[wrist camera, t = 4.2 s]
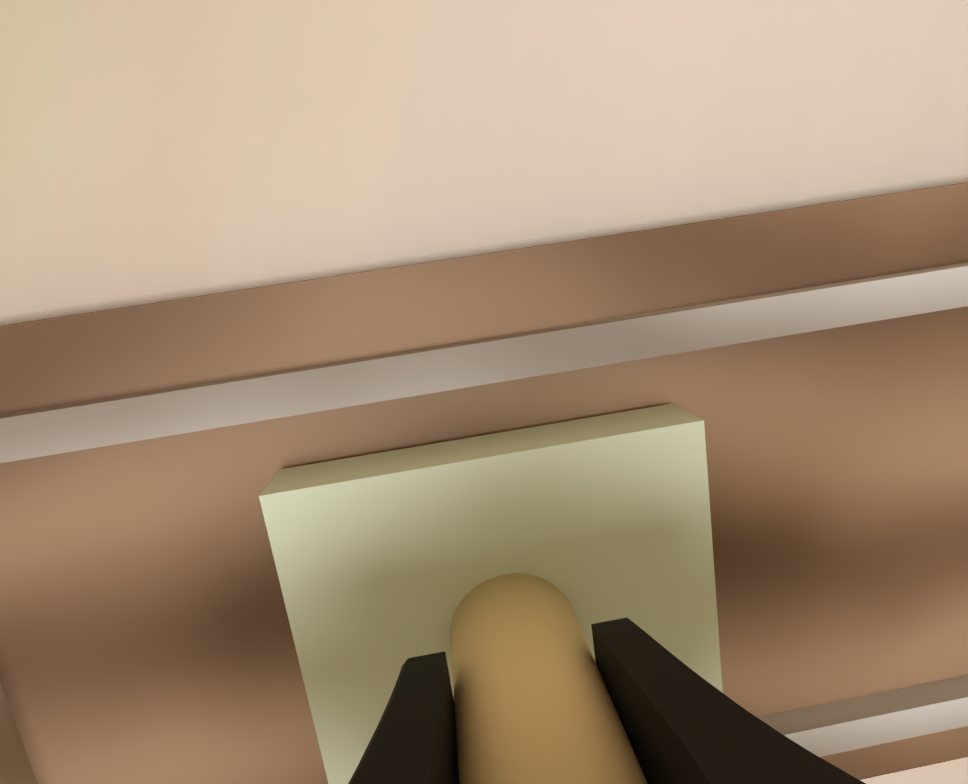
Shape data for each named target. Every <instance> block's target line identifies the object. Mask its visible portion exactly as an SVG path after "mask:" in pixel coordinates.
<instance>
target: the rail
mask: <svg viewBox="0 0 968 784" xmlns="http://www.w3.org/2000/svg"><path fill="white" fill-rule="evenodd" d="M667 404H674V405H676V406H678V407H680V408H682V409H684V410H686V411H687V412H689V413H691V414H693V415H695V416H697V417H699V418H701V419H703V420H704V426H705V441H706V455H707V470H708V485H709V499H710V514H711V528H712V543H713V558H714V572H715V587H716V601H717V616H718V631H719V645H720V660H721V675H722V689H723V694H725V695H726V696H727V697H729V698H730V699H731V700H733V701H734V702H736V703H737V704H738V705H740V706H741V707H743V708H744V709H745V710H747V711H748V712H750V713H751V714H753V715H754V716H756V717H757V718H759V719H760V720H762V721H763V722H765V723H766V724H768V725H769V726H771V727H772V728H774V729H775V730H777V731H778V732H780V733H781V734H783V735H784V736H786V737H787V738H789V739H790V740H792V741H794V742H795V743H797V744H799V745H800V746H802V747H803V748H805V749H807V750H808V751H810V752H811V753H813V754H815V755H817V756H818V757H820V758H822V759H824V760H825V761H827V762H829V763H831V764H832V765H834V766H836V767H838V768H839V769H841V770H843V771H844V772H846V773H848V774H850V775H851V776H853V777H855V778H857V779H858V780H861V779H866V778H870V777H875V776H880V775H884V774H889V773H894V772H899V771H903V770H908V769H913V768H917V767H922V766H927V765H931V764H936V763H941V762H945V761H950V760H955V759H959V758H964V757H968V182H967V183H961V184H954V185H947V186H940V187H934V188H927V189H920V190H913V191H907V192H900V193H893V194H886V195H880V196H873V197H866V198H859V199H853V200H846V201H839V202H832V203H826V204H819V205H812V206H805V207H799V208H792V209H785V210H778V211H772V212H765V213H758V214H751V215H745V216H738V217H731V218H724V219H718V220H711V221H704V222H697V223H691V224H684V225H677V226H670V227H664V228H657V229H650V230H643V231H637V232H630V233H623V234H616V235H610V236H603V237H596V238H589V239H583V240H576V241H569V242H562V243H556V244H549V245H542V246H535V247H529V248H522V249H515V250H508V251H502V252H495V253H488V254H482V255H475V256H468V257H461V258H455V259H448V260H441V261H434V262H428V263H421V264H414V265H407V266H401V267H394V268H387V269H380V270H374V271H367V272H360V273H353V274H347V275H340V276H333V277H326V278H320V279H313V280H306V281H299V282H293V283H286V284H279V285H272V286H266V287H259V288H252V289H245V290H239V291H232V292H225V293H218V294H212V295H205V296H198V297H191V298H185V299H178V300H171V301H164V302H158V303H151V304H144V305H137V306H131V307H124V308H117V309H110V310H104V311H97V312H90V313H83V314H77V315H70V316H63V317H56V318H50V319H43V320H36V321H30V322H23V323H16V324H9V325H3V326H0V784H328V780H327V776H326V772H325V768H324V763H323V759H322V755H321V751H320V747H319V743H318V739H317V735H316V730H315V726H314V722H313V718H312V714H311V710H310V706H309V702H308V697H307V693H306V689H305V685H304V681H303V677H302V673H301V668H300V664H299V660H298V656H297V652H296V648H295V644H294V640H293V635H292V631H291V627H290V623H289V619H288V615H287V611H286V607H285V602H284V598H283V594H282V590H281V586H280V582H279V578H278V574H277V569H276V565H275V561H274V557H273V553H272V549H271V545H270V541H269V536H268V532H267V528H266V524H265V520H264V516H263V512H262V508H261V503H260V499H259V495H260V494H261V493H262V491H263V490H264V489H265V487H266V486H267V485H268V483H269V482H270V481H271V479H272V478H273V477H274V475H275V474H276V473H277V471H278V470H280V469H286V468H291V467H297V466H303V465H309V464H315V463H321V462H327V461H333V460H339V459H345V458H351V457H357V456H363V455H369V454H375V453H381V452H387V451H393V450H399V449H405V448H411V447H417V446H423V445H429V444H435V443H440V442H446V441H452V440H458V439H464V438H470V437H476V436H482V435H488V434H494V433H500V432H506V431H512V430H518V429H524V428H530V427H536V426H542V425H548V424H554V423H560V422H566V421H572V420H578V419H584V418H589V417H595V416H601V415H607V414H613V413H619V412H625V411H631V410H637V409H643V408H649V407H655V406H661V405H667Z"/></svg>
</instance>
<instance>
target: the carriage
mask: <svg viewBox="0 0 968 784" xmlns="http://www.w3.org/2000/svg"><path fill="white" fill-rule="evenodd" d="M259 499H260V503H261V508H262V512H263V516H264V520H265V524H266V528H267V532H268V536H269V541H270V545H271V549H272V553H273V557H274V561H275V565H276V569H277V574H278V578H279V582H280V586H281V590H282V594H283V598H284V602H285V607H286V611H287V615H288V619H289V623H290V627H291V631H292V635H293V640H294V644H295V648H296V652H297V656H298V660H299V664H300V668H301V673H302V677H303V681H304V685H305V689H306V693H307V697H308V702H309V706H310V710H311V714H312V718H313V722H314V726H315V730H316V735H317V739H318V743H319V747H320V751H321V755H322V759H323V763H324V768H325V772H326V776H327V780H328V784H348V783H349V781H350V779H351V778H352V776H353V774H354V772H355V770H356V768H357V766H358V764H359V762H360V760H361V758H362V756H363V754H364V752H365V750H366V748H367V746H368V744H369V742H370V740H371V738H372V736H373V734H374V732H375V730H376V728H377V726H378V724H379V721H380V719H381V717H382V715H383V712H384V710H385V708H386V706H387V704H388V701H389V699H390V696H391V694H392V692H393V689H394V687H395V684H396V682H397V679H398V676H399V674H400V671H401V668H402V665H403V664H404V663H405V662H406V660H407V659H408V658H412V657H417V656H423V655H428V654H433V653H439V652H444V651H445V653H446V659H447V665H448V670H449V676H450V682H451V687H452V693H453V699H454V711H455V727H456V743H457V759H458V775H459V784H648V783H647V781H646V778H645V776H644V774H643V771H642V769H641V767H640V764H639V762H638V760H637V757H636V755H635V753H634V750H633V748H632V746H631V743H630V741H629V739H628V736H627V734H626V732H625V730H624V727H623V725H622V723H621V720H620V718H619V716H618V713H617V711H616V709H615V706H614V704H613V702H612V699H611V697H610V695H609V692H608V690H607V688H606V686H605V683H604V681H603V679H602V676H601V674H600V672H599V669H598V667H597V665H596V662H595V653H594V644H593V636H592V627H591V624H595V623H600V622H605V621H611V620H616V619H621V618H628V619H630V620H631V621H632V622H634V623H635V624H636V625H637V626H639V627H640V628H641V629H642V630H644V631H645V632H646V633H647V634H648V635H650V636H651V637H652V638H653V639H654V640H656V641H657V642H658V643H659V644H661V645H662V646H663V647H664V648H665V649H667V650H668V651H669V652H670V653H672V654H673V655H674V656H675V657H677V658H678V659H679V660H680V661H682V662H683V663H684V664H685V665H687V666H688V667H689V668H690V669H692V670H693V671H694V672H695V673H697V674H698V675H699V676H701V677H702V678H703V679H705V680H706V681H707V682H709V683H710V684H711V685H713V686H714V687H715V688H717V689H718V690H719V691H721V692H722V693H723V689H722V675H721V660H720V645H719V631H718V616H717V601H716V587H715V572H714V558H713V543H712V528H711V514H710V499H709V485H708V470H707V455H706V441H705V426H704V420H703V419H701V418H699V417H697V416H695V415H693V414H691V413H689V412H687V411H686V410H684V409H682V408H680V407H678V406H676V405H674V404H667V405H661V406H655V407H649V408H643V409H637V410H631V411H625V412H619V413H613V414H607V415H601V416H595V417H589V418H584V419H578V420H572V421H566V422H560V423H554V424H548V425H542V426H536V427H530V428H524V429H518V430H512V431H506V432H500V433H494V434H488V435H482V436H476V437H470V438H464V439H458V440H452V441H446V442H440V443H435V444H429V445H423V446H417V447H411V448H405V449H399V450H393V451H387V452H381V453H375V454H369V455H363V456H357V457H351V458H345V459H339V460H333V461H327V462H321V463H315V464H309V465H303V466H297V467H291V468H286V469H280V470H278V471H277V473H276V474H275V475H274V477H273V478H272V479H271V481H270V482H269V483H268V485H267V486H266V487H265V489H264V490H263V491H262V493H261V494H260V495H259Z"/></svg>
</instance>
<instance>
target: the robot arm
mask: <svg viewBox="0 0 968 784" xmlns="http://www.w3.org/2000/svg"><path fill="white" fill-rule="evenodd" d="M591 627H592V636H593V644H594V653H595V662H596V665H597V667H598V669H599V672H600V674H601V676H602V679H603V681H604V683H605V686H606V688H607V690H608V692H609V695H610V697H611V699H612V702H613V704H614V706H615V709H616V711H617V713H618V716H619V718H620V720H621V723H622V725H623V727H624V730H625V732H626V734H627V736H628V739H629V741H630V743H631V746H632V748H633V750H634V753H635V755H636V757H637V760H638V762H639V764H640V767H641V769H642V771H643V774H644V776H645V778H646V781H647V783H648V784H865V783H864V782H862V781H860V780H858V779H857V778H855V777H853V776H851V775H850V774H848V773H846V772H844V771H843V770H841V769H839V768H838V767H836V766H834V765H832V764H831V763H829V762H827V761H825V760H824V759H822V758H820V757H818V756H817V755H815V754H813V753H811V752H810V751H808V750H807V749H805V748H803V747H802V746H800V745H799V744H797V743H795V742H794V741H792V740H790V739H789V738H787V737H786V736H784V735H783V734H781V733H780V732H778V731H777V730H775V729H774V728H772V727H771V726H769V725H768V724H766V723H765V722H763V721H762V720H760V719H759V718H757V717H756V716H754V715H753V714H751V713H750V712H748V711H747V710H745V709H744V708H743V707H741V706H740V705H738V704H737V703H736V702H734V701H733V700H731V699H730V698H729V697H727V696H726V695H725V694H723V693H722V692H721V691H719V690H718V689H717V688H715V687H714V686H713V685H711V684H710V683H709V682H707V681H706V680H705V679H703V678H702V677H701V676H699V675H698V674H697V673H695V672H694V671H693V670H692V669H690V668H689V667H688V666H687V665H685V664H684V663H683V662H682V661H680V660H679V659H678V658H677V657H675V656H674V655H673V654H672V653H670V652H669V651H668V650H667V649H665V648H664V647H663V646H662V645H661V644H659V643H658V642H657V641H656V640H654V639H653V638H652V637H651V636H650V635H648V634H647V633H646V632H645V631H644V630H642V629H641V628H640V627H639V626H637V625H636V624H635V623H634V622H632V621H631V620H630V619H628V618H621V619H616V620H611V621H605V622H600V623H595V624H591ZM348 784H459V775H458V759H457V743H456V727H455V711H454V699H453V693H452V687H451V682H450V676H449V670H448V665H447V659H446V653H445V651H444V652H439V653H433V654H428V655H423V656H417V657H412V658H408V659H407V660H406V662H405V663H404V664H403V665H402V668H401V671H400V674H399V676H398V679H397V682H396V684H395V687H394V689H393V692H392V694H391V696H390V699H389V701H388V704H387V706H386V708H385V710H384V712H383V715H382V717H381V719H380V721H379V724H378V726H377V728H376V730H375V732H374V734H373V736H372V738H371V740H370V742H369V744H368V746H367V748H366V750H365V752H364V754H363V756H362V758H361V760H360V762H359V764H358V766H357V768H356V770H355V772H354V774H353V776H352V778H351V779H350V781H349V783H348Z"/></svg>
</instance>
